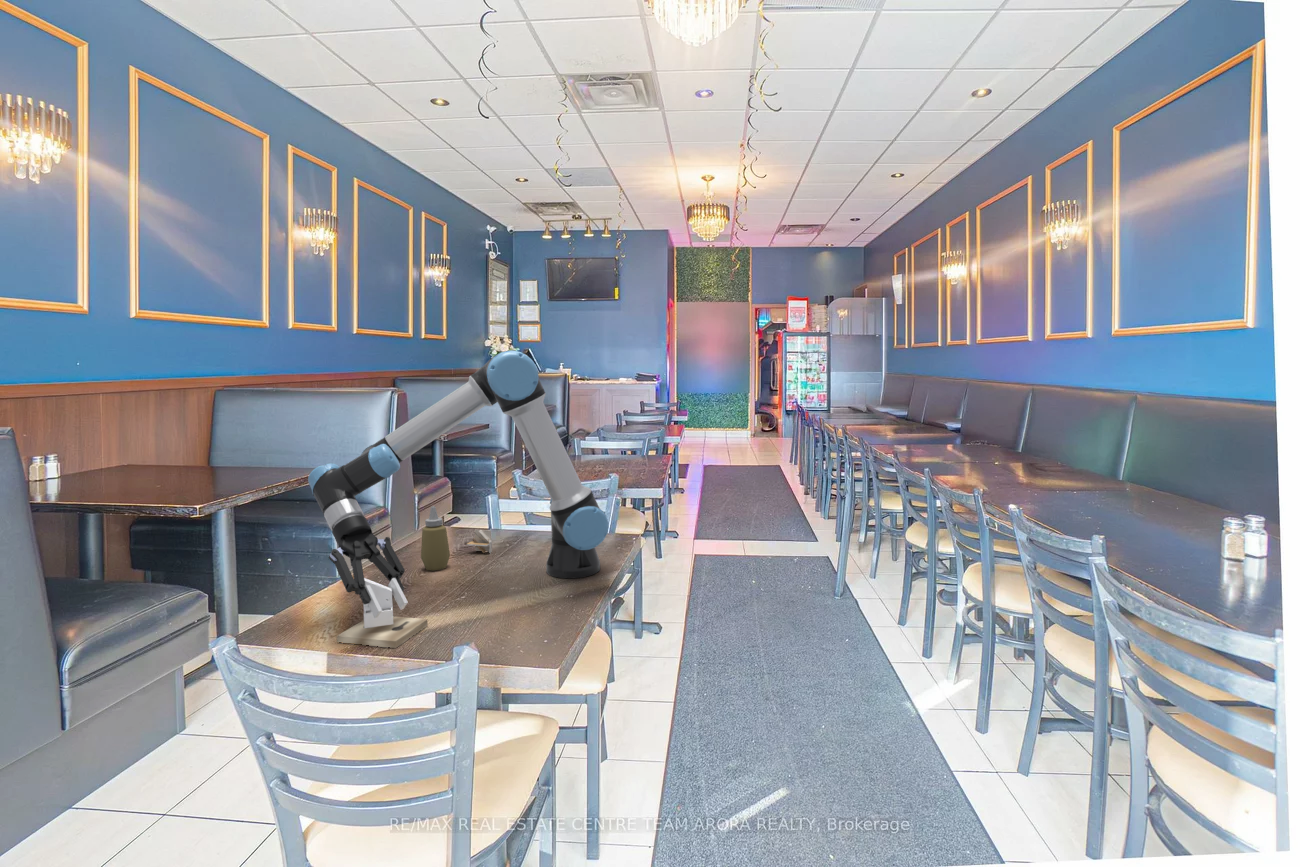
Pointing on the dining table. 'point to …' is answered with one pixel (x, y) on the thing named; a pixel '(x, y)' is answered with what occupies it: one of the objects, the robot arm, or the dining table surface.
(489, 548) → the architectural model
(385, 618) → the white angled block
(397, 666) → the dining table surface
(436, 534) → the squeeze bottle
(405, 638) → the mount board
